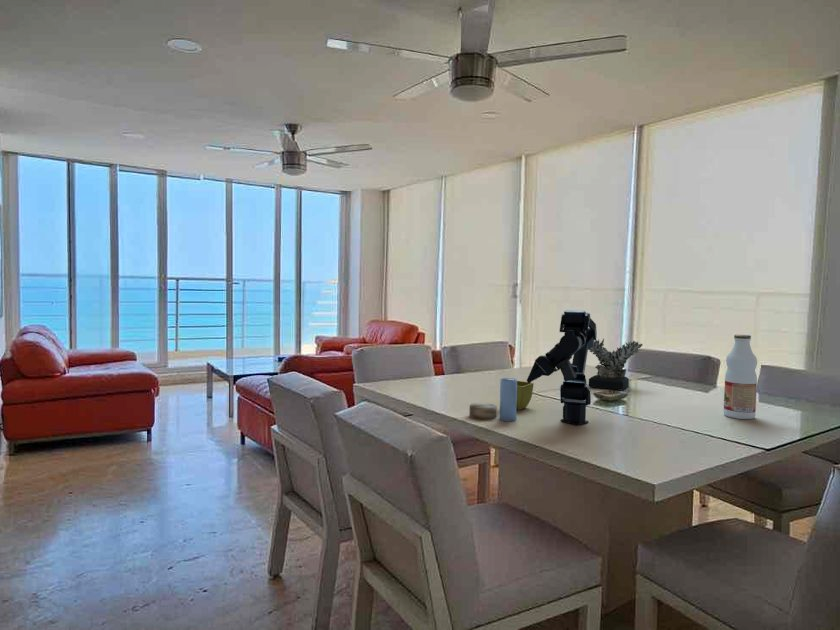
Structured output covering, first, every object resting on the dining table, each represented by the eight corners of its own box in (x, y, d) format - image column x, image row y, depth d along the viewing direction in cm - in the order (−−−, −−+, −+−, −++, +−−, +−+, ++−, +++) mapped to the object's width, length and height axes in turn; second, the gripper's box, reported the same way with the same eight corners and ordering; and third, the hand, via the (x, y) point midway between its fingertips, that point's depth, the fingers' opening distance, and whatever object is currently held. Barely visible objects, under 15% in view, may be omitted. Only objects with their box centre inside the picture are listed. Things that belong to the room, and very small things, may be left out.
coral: (579, 387, 234) (580, 339, 233) (583, 381, 250) (584, 336, 249) (641, 392, 224) (642, 342, 223) (641, 385, 241) (643, 339, 240)
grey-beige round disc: (502, 417, 179) (502, 406, 179) (482, 420, 173) (482, 410, 173) (483, 411, 186) (483, 401, 186) (463, 415, 181) (464, 404, 180)
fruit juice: (745, 421, 177) (748, 336, 176) (717, 415, 185) (720, 334, 184) (761, 417, 182) (764, 335, 180) (733, 412, 190) (736, 333, 189)
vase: (519, 419, 176) (520, 379, 175) (508, 421, 173) (508, 381, 172) (507, 416, 180) (508, 377, 179) (496, 418, 177) (496, 378, 176)
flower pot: (522, 411, 187) (523, 386, 187) (500, 408, 192) (500, 383, 192) (533, 407, 194) (534, 382, 194) (511, 404, 199) (512, 380, 199)
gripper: (581, 370, 157) (542, 404, 161) (589, 364, 174) (553, 395, 178) (554, 342, 160) (517, 376, 165) (565, 339, 177) (530, 370, 182)
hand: (531, 380), depth 172 cm, fingers open, 9 cm apart
